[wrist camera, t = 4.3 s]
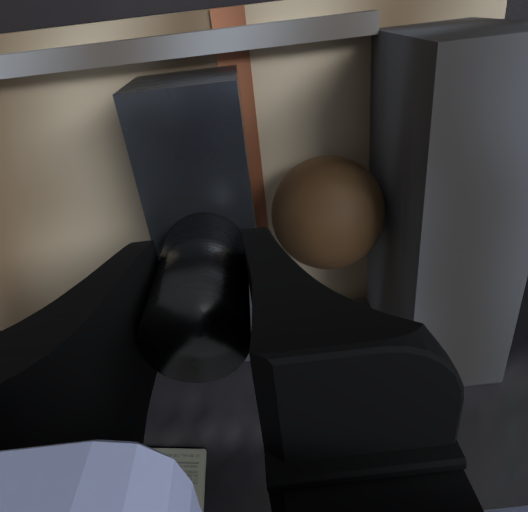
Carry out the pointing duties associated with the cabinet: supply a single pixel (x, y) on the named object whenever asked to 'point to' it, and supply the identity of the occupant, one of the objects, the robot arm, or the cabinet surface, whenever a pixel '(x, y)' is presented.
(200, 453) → the skincare box
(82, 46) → the press
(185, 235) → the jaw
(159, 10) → the cabinet surface
